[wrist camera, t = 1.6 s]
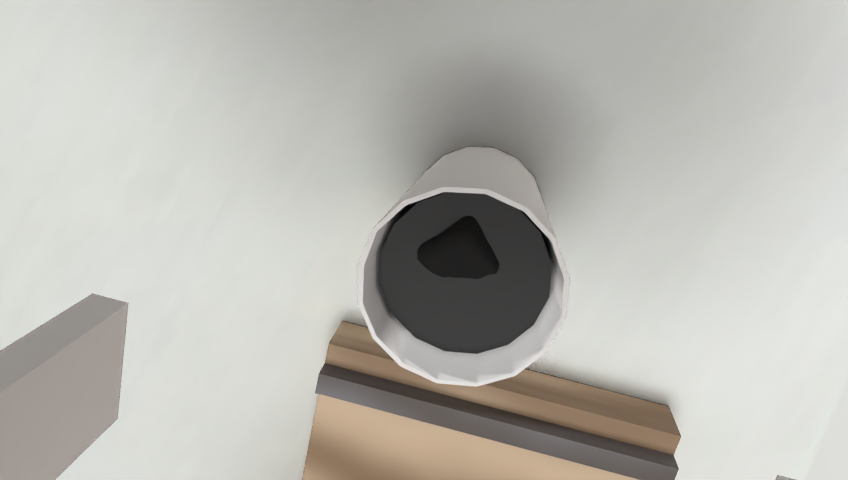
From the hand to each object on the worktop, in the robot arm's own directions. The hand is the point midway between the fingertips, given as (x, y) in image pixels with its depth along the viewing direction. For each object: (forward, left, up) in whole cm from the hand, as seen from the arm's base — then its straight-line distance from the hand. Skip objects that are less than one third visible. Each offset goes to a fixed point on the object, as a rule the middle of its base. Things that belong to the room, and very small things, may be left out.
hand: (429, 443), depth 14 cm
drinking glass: (0, 0, -18) cm, 18 cm away
